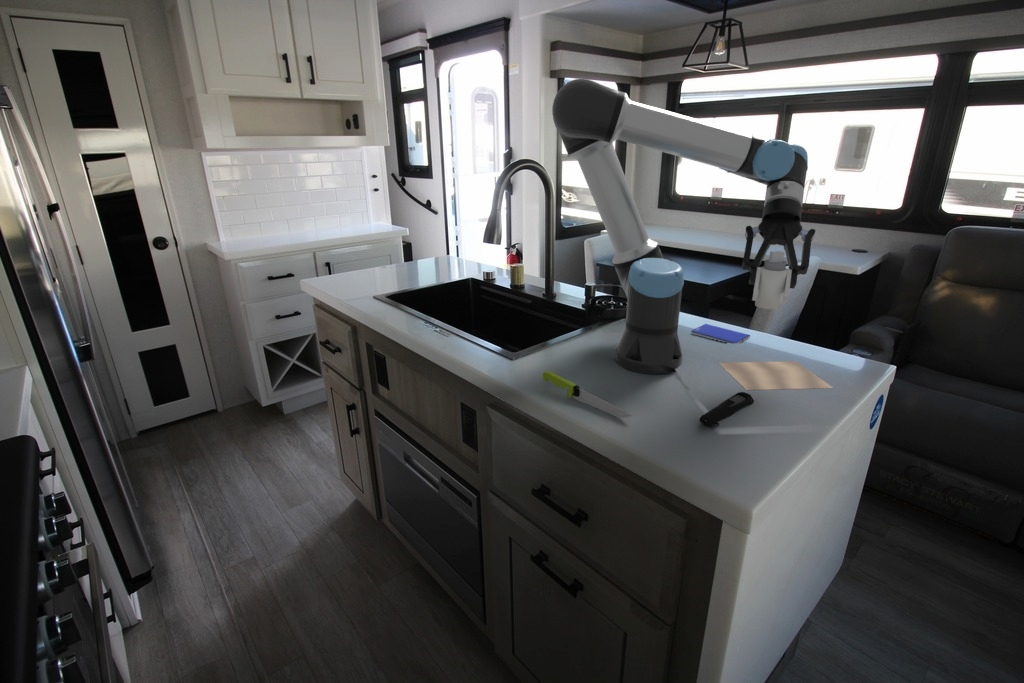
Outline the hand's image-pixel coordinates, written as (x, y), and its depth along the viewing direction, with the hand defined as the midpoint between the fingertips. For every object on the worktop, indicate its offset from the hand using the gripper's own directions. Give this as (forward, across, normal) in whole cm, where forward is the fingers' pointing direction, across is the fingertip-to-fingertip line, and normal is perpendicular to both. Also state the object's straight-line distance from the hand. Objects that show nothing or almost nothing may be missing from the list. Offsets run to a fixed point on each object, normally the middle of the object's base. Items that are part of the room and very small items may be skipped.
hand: (769, 298), depth 104 cm
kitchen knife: (+31, -30, -5) cm, 44 cm away
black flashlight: (+27, -4, 0) cm, 27 cm away
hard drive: (-5, -9, +32) cm, 34 cm away
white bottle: (-1, 0, +4) cm, 5 cm away
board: (+12, +3, +14) cm, 19 cm away
